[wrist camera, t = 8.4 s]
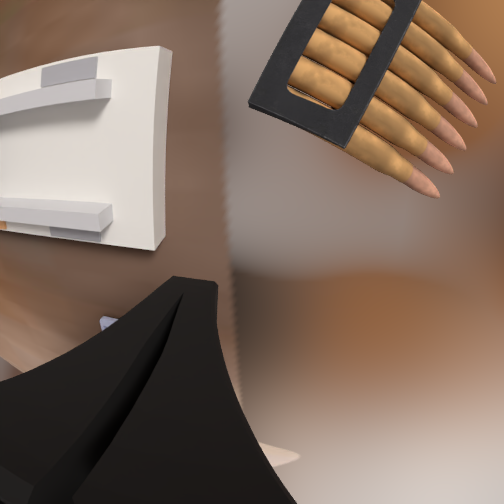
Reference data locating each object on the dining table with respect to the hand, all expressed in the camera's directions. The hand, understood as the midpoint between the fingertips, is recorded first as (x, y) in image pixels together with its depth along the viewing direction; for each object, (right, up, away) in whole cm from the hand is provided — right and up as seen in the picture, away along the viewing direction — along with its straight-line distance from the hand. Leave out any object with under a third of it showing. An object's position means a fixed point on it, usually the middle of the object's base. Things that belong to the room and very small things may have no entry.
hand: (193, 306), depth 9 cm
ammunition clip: (+3, +13, +2) cm, 14 cm away
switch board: (-12, +8, +7) cm, 16 cm away
